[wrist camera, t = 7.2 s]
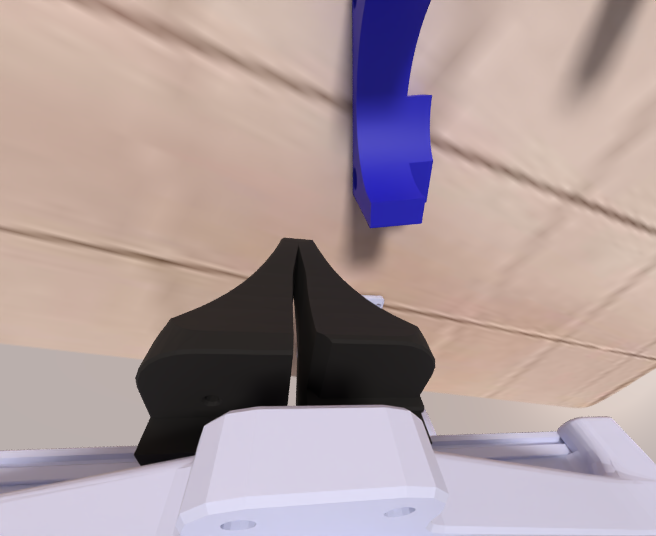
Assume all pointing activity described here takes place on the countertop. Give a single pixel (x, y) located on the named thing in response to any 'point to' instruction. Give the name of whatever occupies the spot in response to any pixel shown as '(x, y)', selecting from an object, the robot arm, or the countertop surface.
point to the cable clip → (389, 113)
